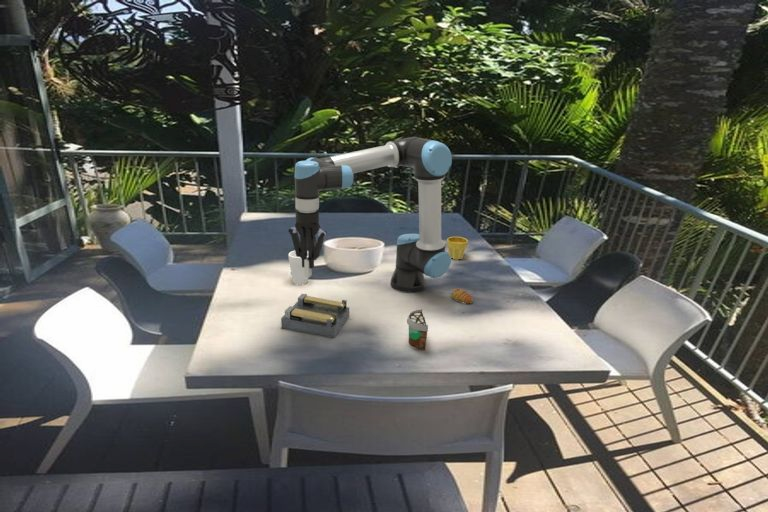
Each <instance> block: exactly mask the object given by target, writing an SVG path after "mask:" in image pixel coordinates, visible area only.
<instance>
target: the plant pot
mask: <svg viewBox="0 0 768 512" xmlns="http://www.w3.org/2000/svg"><path fill="white" fill-rule="evenodd" d="M468 242H469V240H468V239H467V238H465V237H462V236H450V237H448V238H447V239H446V247H447V249H448V254H449V255H450V257H451V258H453V259H461V260H462V259H463V258H464V254H465V251H466V249H467V248H468V244H469V243H468ZM453 259H452V260H453Z"/></svg>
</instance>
